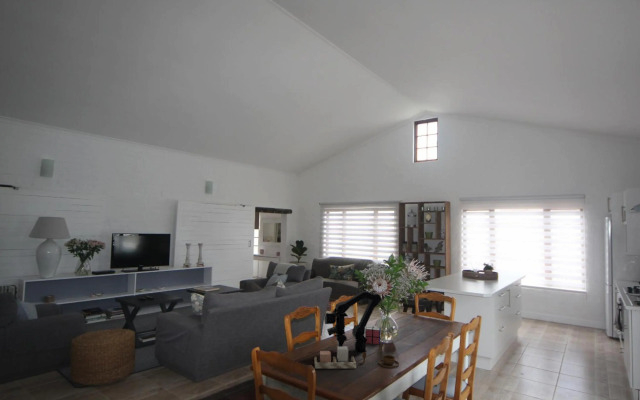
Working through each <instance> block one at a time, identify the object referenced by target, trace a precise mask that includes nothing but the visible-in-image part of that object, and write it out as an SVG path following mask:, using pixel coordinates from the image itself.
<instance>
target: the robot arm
mask: <svg viewBox="0 0 640 400" xmlns="http://www.w3.org/2000/svg"><path fill="white" fill-rule="evenodd" d="M363 299H368V302H367V306H366V309H365V311H364V312H363V315H362V316H361V319H360V320H359V323H358V324H357V325H356V324H354V326H353V328H352V329H351V332H352V336H353V338H354V339H355V342H354V350H355V352H356V353H358V352H359V353H367V350H366V349H367V348H366V346H367V344H366V341H367V339H366V338H365V329H366V326H367V324H368V322H369V320H370V318H371V316H372V314H373V312H374V310H375V308H376V307H377V306H379V303H380V302H381V301H382V297H381V295H380V294H379V293H377V292H368V291H365V290H362V291H360V292H359V293H357V294H356V295H354V296H351V297H350V298H348V299H347V300H344V301H340V302H338V303H336V304H335V307H334V309H333V310H332V312H326V313H325V314H324V318H323V319H324V320H323V321H324V324H325V325H334V326H333V327H332V326H331V327H329V328H328V329H327V334H328V337H330V336H333V335H334V337H335V340H337V344H338V343H339V346H344V344H345V342H347V341H348V339H347V338H348V337H347V335H346V332H345V330H346V329H345V328H346V324H345V323H346V319H345V318H346V317H348V316H349V314H347V313H346V312H347V311H348V310H349V309H350V307H352V306H354V305H355V304H357V303H359V302H360V301H363Z"/></svg>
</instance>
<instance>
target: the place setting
mask: <svg viewBox="0 0 640 400" xmlns="http://www.w3.org/2000/svg"><path fill="white" fill-rule="evenodd" d="M361 353H362V355H361V356H362V358H363V363H366V358H367V352H361ZM382 363H383V364H382ZM384 364H385V365H384ZM394 364H396V365H394ZM397 364H398V365H397ZM378 365H380V366H381V367H382V368H385V369H393V368H395V367H396V368H398V367H399V365H400V363H399V361H397V360H396V359H395V355H390V354H385V355H384V354H383V356H382V359H379V360H378Z"/></svg>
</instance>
